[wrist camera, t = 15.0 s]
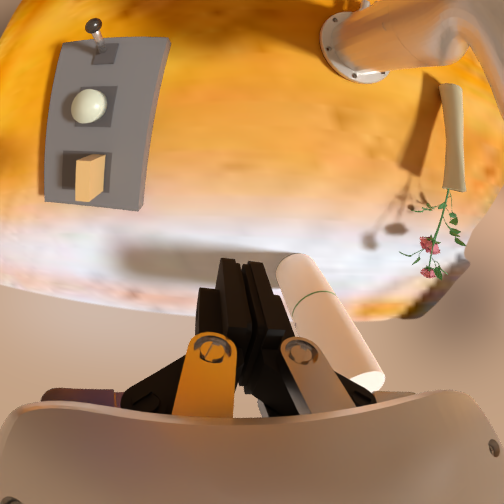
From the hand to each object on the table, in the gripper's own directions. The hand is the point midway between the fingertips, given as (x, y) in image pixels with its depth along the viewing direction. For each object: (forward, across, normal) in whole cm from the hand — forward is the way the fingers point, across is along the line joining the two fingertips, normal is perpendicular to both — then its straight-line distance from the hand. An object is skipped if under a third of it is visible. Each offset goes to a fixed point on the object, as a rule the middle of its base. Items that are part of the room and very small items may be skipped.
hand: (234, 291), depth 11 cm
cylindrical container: (+29, -16, +15) cm, 37 cm away
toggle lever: (+25, +18, -14) cm, 34 cm away
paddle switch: (+26, +16, +2) cm, 31 cm away
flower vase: (+29, -37, -9) cm, 48 cm away
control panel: (+29, +18, -5) cm, 35 cm away
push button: (+25, +18, -7) cm, 32 cm away
